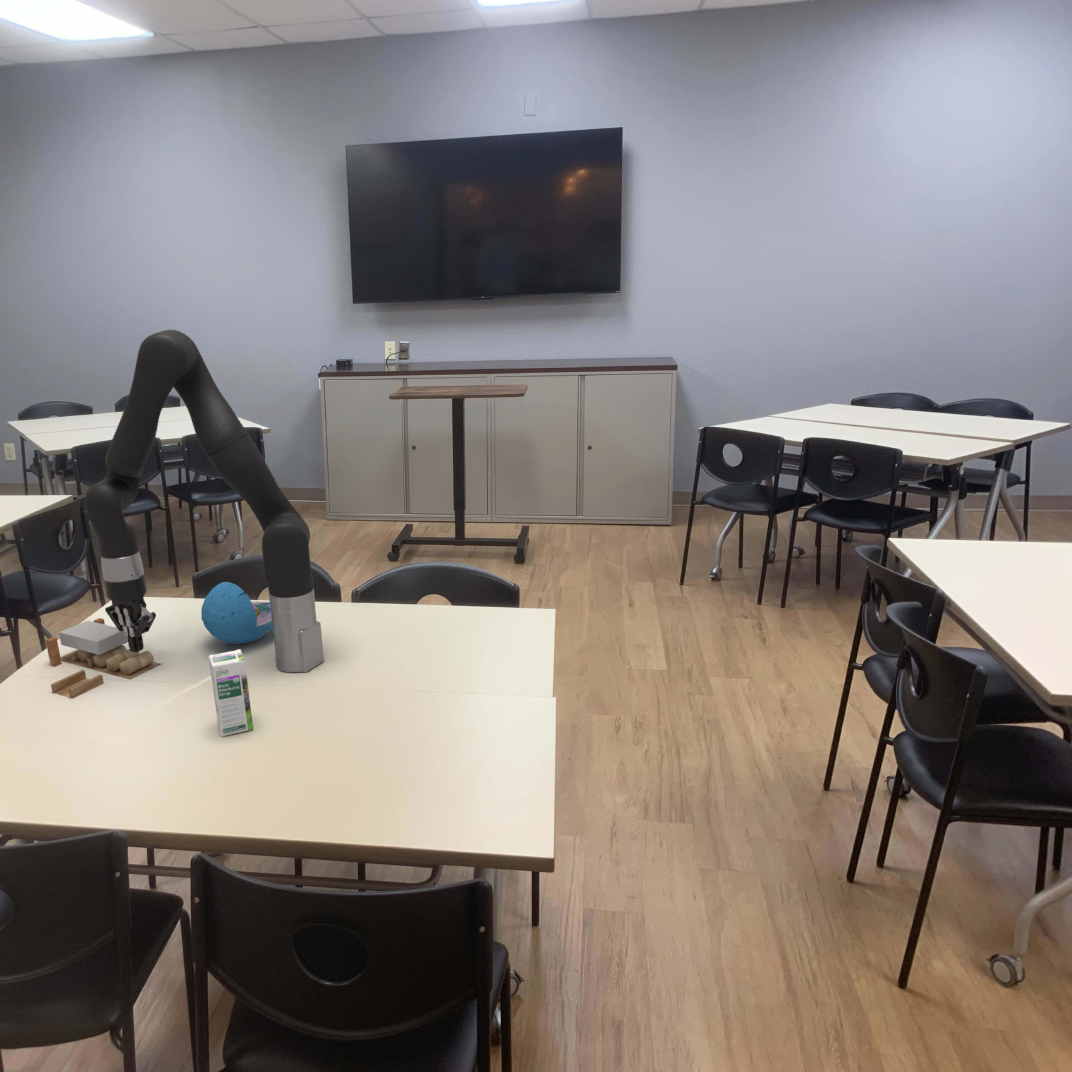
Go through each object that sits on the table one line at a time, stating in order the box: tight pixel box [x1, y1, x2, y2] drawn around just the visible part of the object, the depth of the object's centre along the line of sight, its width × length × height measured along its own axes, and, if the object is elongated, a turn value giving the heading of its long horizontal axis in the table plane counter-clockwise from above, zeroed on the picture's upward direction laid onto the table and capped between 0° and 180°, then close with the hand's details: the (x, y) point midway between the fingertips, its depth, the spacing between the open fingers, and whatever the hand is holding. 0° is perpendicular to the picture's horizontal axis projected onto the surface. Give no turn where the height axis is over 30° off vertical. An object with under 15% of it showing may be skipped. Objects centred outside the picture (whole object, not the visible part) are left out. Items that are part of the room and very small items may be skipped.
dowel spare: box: [77, 649, 97, 662], centre depth 177 cm, size 3×5×3 cm, turn 155°
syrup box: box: [208, 648, 254, 738], centre depth 150 cm, size 6×6×14 cm
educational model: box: [201, 581, 273, 645], centre depth 187 cm, size 16×19×15 cm
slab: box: [58, 620, 128, 655], centre depth 176 cm, size 12×7×3 cm, turn 65°
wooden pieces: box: [45, 617, 162, 699], centre depth 172 cm, size 23×21×7 cm
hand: (137, 650), depth 171 cm, fingers closed
